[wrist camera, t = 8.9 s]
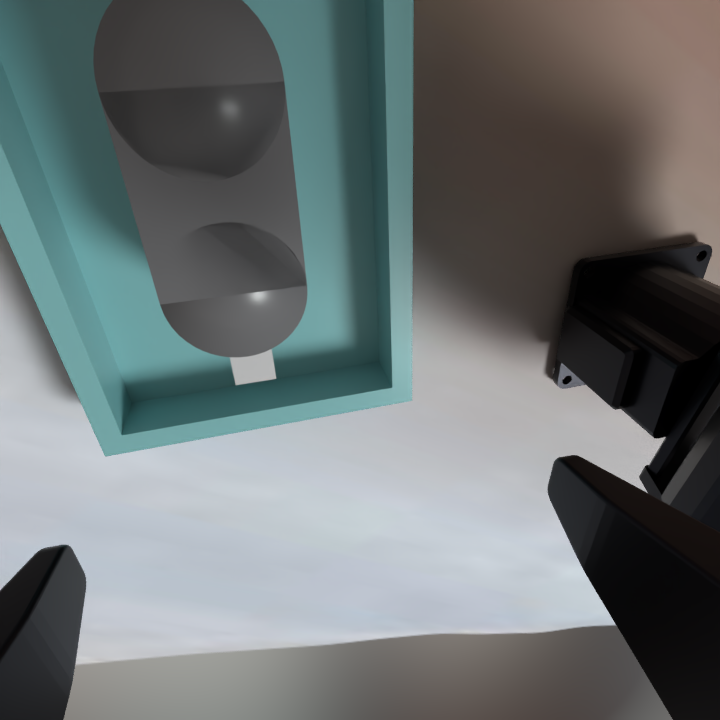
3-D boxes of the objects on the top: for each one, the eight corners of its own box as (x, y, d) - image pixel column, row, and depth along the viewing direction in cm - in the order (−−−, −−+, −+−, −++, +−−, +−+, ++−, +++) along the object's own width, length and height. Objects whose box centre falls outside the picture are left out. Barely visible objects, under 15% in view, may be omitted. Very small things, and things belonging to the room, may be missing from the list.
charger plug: (108, -1, 13) (63, -27, 9) (262, -5, 13) (272, -31, 10) (201, 357, 18) (193, 420, 15) (304, 341, 19) (319, 399, 16)
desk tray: (385, -113, 13) (414, -149, 11) (394, 368, 21) (411, 400, 19) (-95, -111, 11) (-170, -153, 9) (119, 415, 19) (105, 456, 17)
